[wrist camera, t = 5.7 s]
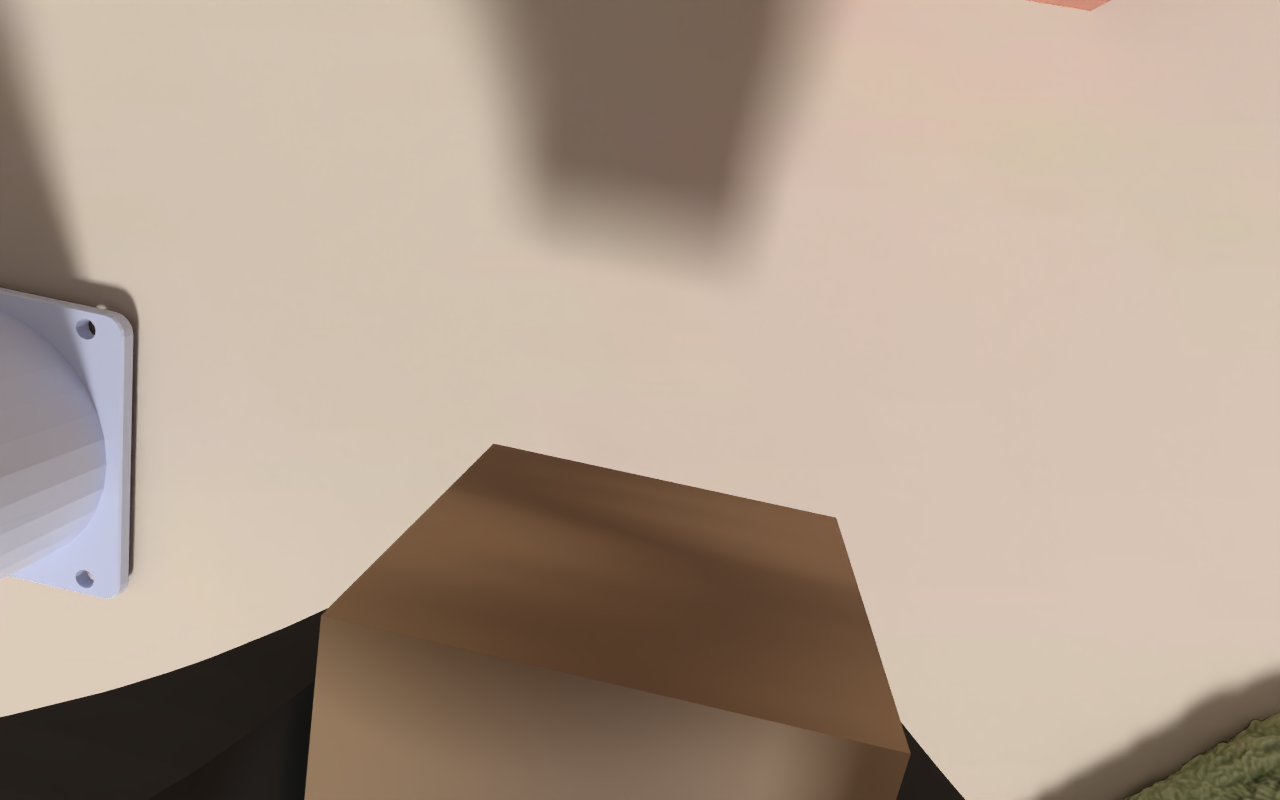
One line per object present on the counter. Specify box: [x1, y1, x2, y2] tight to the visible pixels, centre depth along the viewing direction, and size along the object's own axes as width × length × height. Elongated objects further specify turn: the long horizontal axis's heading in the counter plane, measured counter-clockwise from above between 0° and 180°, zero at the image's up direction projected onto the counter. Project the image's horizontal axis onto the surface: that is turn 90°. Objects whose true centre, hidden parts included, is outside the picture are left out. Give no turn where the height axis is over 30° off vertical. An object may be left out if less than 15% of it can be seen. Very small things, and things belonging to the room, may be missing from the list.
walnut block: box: [304, 444, 911, 800], centre depth 10 cm, size 5×5×5 cm
